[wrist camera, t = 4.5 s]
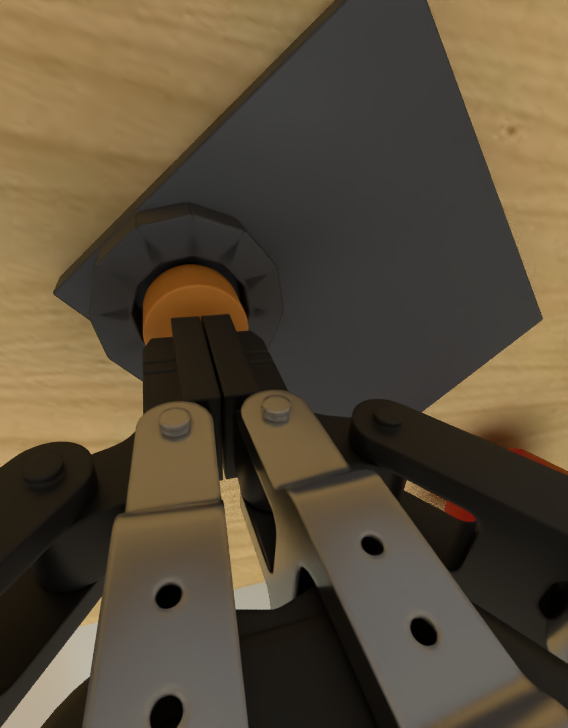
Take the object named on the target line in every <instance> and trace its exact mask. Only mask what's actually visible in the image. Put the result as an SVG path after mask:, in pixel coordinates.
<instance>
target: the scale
mask: <svg viewBox="0 0 568 728" xmlns="http://www.w3.org/2000/svg"><path fill="white" fill-rule="evenodd" d="M187 264H195V265H202V266H206V267H209V268H212V269H214V270H216V271H217V272H219V273H220V274H222V275H223V276H224V277H225V278H226V279H227V280H228V281H229V282H230V283H231V285H232V286H233V288H234V290H235V292H236V294H237V297H238V299H239V301H240V303H241V305H242V307H243V309H244V311H245V314H246V317H247V320H248V330H251V331H252V332H254V333H255V334H256V335H258V336H259V337H260V338H262V339H263V341H264V343H265V345H266V347H267V349H268V352H269V353H270V355H271V357H272V359H273V362H274V363H275V365H276V367H277V369H278V371H279V373H280V375H281V377H282V379H283V381H284V383H285V385H286V387H287V389H288V391H289V392H291V393H294V394H296V395H298V396H300V397H301V398H303V399H304V400H305V401H306V402H307V404H308V405H309V406H310V408H311V409H312V411H313V412H314V413H318V414H322V415H329V416H340V417H352V412H353V410H354V408H355V407H356V406H357V405H358V404H359V403H361V402H363V401H366V400H370V399H386V400H391V401H395V402H397V403H400V404H402V405H405V406H407V407H409V408H412V409H414V410H417V411H419V412H423V411H424V410H425V409H426V408H428V407H429V406H430V405H432V404H433V403H434V402H436V401H437V400H438V399H440V398H441V397H442V396H443V395H445V394H446V393H447V392H449V391H450V390H451V389H453V388H454V387H455V386H456V385H458V384H459V383H460V382H462V381H463V380H464V379H466V378H467V377H468V376H470V375H471V374H472V373H473V372H475V371H476V370H477V369H479V368H480V367H481V366H483V365H484V364H485V363H487V362H488V361H489V360H490V359H492V358H493V357H494V356H496V355H497V354H498V353H500V352H501V351H502V350H504V349H505V348H506V347H507V346H509V345H510V344H511V343H513V342H514V341H515V340H517V339H518V338H519V337H520V336H522V335H523V334H524V333H526V332H527V331H528V330H530V329H531V328H532V327H534V326H535V325H536V324H537V323H539V322H540V321H541V320H542V319H543V318H542V315H541V312H540V309H539V307H538V304H537V301H536V298H535V296H534V293H533V290H532V287H531V285H530V282H529V279H528V277H527V274H526V271H525V268H524V266H523V263H522V260H521V257H520V255H519V252H518V249H517V246H516V244H515V241H514V238H513V235H512V233H511V230H510V227H509V224H508V222H507V219H506V216H505V214H504V211H503V208H502V205H501V203H500V200H499V197H498V194H497V192H496V189H495V186H494V183H493V181H492V178H491V175H490V172H489V170H488V167H487V164H486V162H485V159H484V156H483V153H482V151H481V148H480V145H479V142H478V140H477V137H476V134H475V131H474V129H473V126H472V123H471V120H470V118H469V115H468V112H467V109H466V107H465V104H464V101H463V99H462V96H461V93H460V90H459V88H458V85H457V82H456V79H455V77H454V74H453V71H452V68H451V66H450V63H449V60H448V57H447V55H446V52H445V49H444V46H443V44H442V41H441V38H440V36H439V33H438V30H437V27H436V25H435V22H434V19H433V16H432V14H431V11H430V8H429V5H428V3H427V0H335V1H334V2H333V3H332V4H331V5H330V6H329V7H328V8H327V9H326V10H325V11H324V12H323V13H322V14H321V15H320V16H319V17H318V18H317V19H316V20H315V21H314V22H313V23H312V24H311V25H310V26H309V27H308V28H307V29H306V30H305V31H304V32H303V33H302V34H301V35H300V36H299V37H298V38H297V39H296V40H295V41H294V42H293V43H292V44H291V45H290V46H289V47H288V48H287V49H286V50H285V51H284V52H283V53H282V54H281V55H280V56H279V57H278V58H277V59H276V60H275V61H274V62H273V63H272V64H271V65H270V66H269V67H268V68H267V69H266V70H265V71H264V72H263V73H262V75H261V76H260V77H259V78H258V79H257V80H256V81H255V82H254V83H253V84H252V85H251V86H250V87H249V88H248V89H247V90H246V91H245V92H244V93H243V94H242V95H241V96H240V97H239V98H238V99H237V100H236V101H235V102H234V103H233V104H232V105H231V106H230V107H229V108H228V109H227V110H226V111H225V112H224V113H223V114H222V115H221V116H220V117H219V118H218V119H217V120H216V121H215V122H214V123H213V124H212V125H211V126H210V127H209V128H208V129H207V130H206V131H205V132H204V133H203V134H202V135H201V136H200V137H199V138H198V139H197V140H196V141H195V142H194V143H193V144H192V145H191V146H190V147H189V148H188V149H187V150H186V151H185V152H184V153H183V154H182V155H181V156H180V157H179V158H178V159H177V160H176V161H175V162H174V163H173V164H172V165H171V166H170V167H169V168H168V169H167V170H166V171H165V172H164V173H163V174H162V175H161V176H160V177H159V178H158V179H157V180H156V181H155V182H154V183H153V184H152V185H151V186H150V187H149V188H148V189H147V190H146V191H145V192H144V193H143V194H142V195H141V196H140V197H139V198H138V199H137V200H136V201H135V202H134V203H133V204H132V205H131V206H130V207H129V208H128V209H127V210H126V211H125V212H124V213H123V214H122V215H121V216H120V217H119V218H118V219H117V220H116V221H115V222H114V223H113V224H112V225H111V226H110V227H109V228H108V229H107V230H106V231H105V232H104V233H103V234H102V235H101V236H100V237H99V238H98V239H97V240H96V241H95V242H94V243H93V244H92V245H91V246H90V247H89V248H88V249H87V250H86V252H85V253H84V254H83V255H82V256H81V257H80V258H79V259H78V260H77V261H76V262H75V263H74V264H73V265H72V266H71V267H70V268H69V269H68V270H67V271H66V272H65V273H64V274H63V275H62V276H61V277H60V278H59V280H58V282H57V285H56V287H55V289H54V291H53V294H54V295H55V296H56V297H58V298H59V299H61V300H62V301H63V302H65V303H66V304H68V305H69V306H70V307H72V308H73V309H75V310H76V311H77V312H79V313H80V314H82V315H83V316H84V317H86V318H87V319H89V320H90V321H91V323H92V325H93V328H94V330H95V332H96V334H97V336H98V338H99V340H100V342H101V344H102V346H103V348H104V351H105V353H106V355H107V357H108V358H109V359H110V360H111V361H113V362H114V363H116V364H117V365H119V366H120V367H122V368H123V369H125V370H126V371H128V372H129V373H131V374H132V375H134V376H135V377H137V378H138V379H140V380H141V381H143V349H144V347H145V342H144V338H143V301H144V297H145V293H146V291H147V289H148V287H149V286H150V284H151V283H152V282H153V281H154V280H155V278H156V277H158V276H159V275H160V274H161V273H163V272H165V271H166V270H168V269H171V268H173V267H176V266H180V265H187Z"/></svg>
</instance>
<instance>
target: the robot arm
mask: <svg viewBox="0 0 568 728" xmlns="http://www.w3.org/2000/svg"><path fill="white" fill-rule="evenodd" d="M171 328H172V337H163V338H151V339H150V341H149V342H148V343H147V345H146V346H145V347H144V349H143V415H142V417H141V418H140V419H139V421H138V423H137V426H136V431H135V432H134V433H133V434H132V435H131V436H130V437H129V438H127V439H126V440H124V441H123V442H121V443H119V444H117V445H115V446H113V447H110V448H108V449H105V450H102V451H100V452H97V453H94V454H92V455H91V454H90V452H89V451H88V450H87V449H86V448H85V447H83V446H81V445H79V444H76V443H72V442H51V443H46V444H42V445H39V446H36V447H33V448H31V449H28V450H26V451H24V452H22V453H20V454H19V455H17V456H16V457H14V458H13V459H11V460H10V461H9V462H7V463H6V464H5V465H3V466H2V467H1V468H0V727H1V726H2V725H3V724H4V722H5V721H6V720H7V719H8V717H9V716H10V715H11V713H12V712H13V711H14V710H15V708H16V707H17V706H18V704H19V703H20V702H21V700H22V699H23V698H24V697H25V695H26V694H27V693H28V691H29V690H30V689H31V687H32V686H33V685H34V684H35V682H36V681H37V680H38V678H39V677H40V676H41V675H42V673H43V672H44V671H45V669H46V668H47V667H48V665H49V664H50V663H51V661H52V660H53V659H54V658H55V656H56V655H57V654H58V652H59V651H60V650H61V649H62V647H63V646H64V645H65V643H66V642H67V640H68V639H69V638H70V637H71V636H72V634H73V633H74V632H75V630H76V629H77V628H78V627H79V625H80V624H81V623H82V621H83V620H84V619H85V617H86V616H87V615H88V614H89V612H90V611H91V610H92V608H93V607H94V606H95V605H96V603H97V602H98V601H99V599H100V598H101V597H102V601H101V607H100V614H99V620H98V627H97V633H96V640H95V647H94V653H93V660H92V666H91V673H90V677H89V678H88V679H86V680H85V681H84V682H83V683H82V684H81V685H79V686H78V687H77V688H76V689H75V690H74V691H73V692H72V693H71V694H70V695H69V696H68V697H67V698H66V699H65V700H64V701H63V702H62V703H61V704H60V705H59V706H58V707H57V708H56V709H55V710H54V712H53V713H52V714H51V716H50V717H49V718H48V719H47V720H46V722H45V723H44V724H43V725H42V726H41V728H568V475H566V474H564V473H561V472H559V471H557V470H554V469H552V468H550V467H547V466H545V465H543V464H540V463H538V462H536V461H533V460H531V459H529V458H526V457H524V456H522V455H519V454H517V453H515V452H512V451H510V450H508V449H505V448H503V447H501V446H498V445H496V444H494V443H491V442H489V441H487V440H484V439H482V438H480V437H477V436H475V435H473V434H470V433H468V432H466V431H463V430H461V429H459V428H456V427H454V426H452V425H449V424H447V423H445V422H442V421H440V420H438V419H435V418H433V417H431V416H428V415H426V414H424V413H421V412H419V411H417V410H414V409H412V408H409V407H407V406H405V405H402V404H400V403H397V402H395V401H391V400H386V399H370V400H366V401H363V402H361V403H359V404H358V405H357V406H356V407H355V408H354V410H353V412H352V417H340V416H329V415H322V414H318V413H314V412H313V411H312V409H311V408H310V406H309V405H308V404H307V402H306V401H305V400H304V399H303V398H301V397H300V396H298V395H296V394H294V393H291V392H289V391H288V389H287V387H286V385H285V383H284V381H283V379H282V377H281V375H280V373H279V371H278V369H277V367H276V365H275V363H274V362H273V359H272V357H271V355H270V353H269V352H268V349H267V347H266V345H265V343H264V341H263V339H262V338H260V337H259V336H258V335H256V334H255V333H254V332H252V331H251V330H248V331H236V329H235V326H234V324H233V321H232V319H231V316H230V314H219V315H204V316H201V320H200V317H199V316H191V317H176V318H171ZM222 464H223V466H222ZM223 469H224V473H225V478H226V479H231V478H236V477H238V481H239V485H240V506H241V510H242V513H243V516H244V519H245V522H246V525H247V528H248V531H249V534H250V537H251V540H252V543H253V546H254V549H255V552H256V554H257V557H258V560H259V563H260V566H261V569H262V572H263V575H264V578H265V581H266V584H267V588H268V593H269V598H270V606H271V610H236V609H235V600H234V591H233V582H232V573H231V564H230V554H229V545H228V536H227V527H226V518H225V509H224V503H223V500H221V491H220V482H219V481H220V480H223ZM407 480H408V481H410V482H412V483H414V484H416V485H418V486H420V487H422V488H424V489H426V490H428V491H430V492H432V493H434V494H435V495H437V496H439V497H441V498H443V499H445V500H447V501H449V502H451V503H453V504H455V505H457V506H459V507H461V508H463V509H464V510H466V511H468V512H469V513H470V514H472V515H473V516H474V517H475V519H476V520H475V521H472V522H466V521H462V520H459V519H457V518H455V517H453V516H451V515H449V514H448V513H446V512H444V511H442V510H440V509H438V508H436V507H434V506H432V505H431V504H429V503H427V502H425V501H423V500H421V499H419V498H417V497H415V496H414V495H412V494H410V493H408V492H406V491H404V487H405V484H406V481H407Z"/></svg>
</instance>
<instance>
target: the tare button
mask: <svg viewBox="0 0 568 728" xmlns="http://www.w3.org/2000/svg"><path fill="white" fill-rule="evenodd" d="M219 314H230V316H231V319H232V321H233V324H234V326H235V329H236V331H248V320H247V317H246V314H245V311H244V309H243V307H242V305H241V303H240V301H239V299H238V297H237V294H236V292H235V290H234V288H233V286H232V285H231V283H230V282H229V281H228V280H227V279H226V278H225V277H224V276H223V275H222V274H220V273H219V272H217V271H216V270H214V269H212V268H209V267H206V266H202V265H195V264H187V265H180V266H176V267H173V268H171V269H168V270H166V271H165V272H163V273H161V274H160V275H159V276H158V277H156V278H155V280H154V281H153V282H152V283H151V284H150V286H149V287H148V289H147V291H146V293H145V297H144V301H143V338H144V342H145V346H146V345H147V343H148V342H149V341H150V339H151V338H163V337H172V328H171V318H176V317H191V316H199V317H200V320H201V316H204V315H219Z"/></svg>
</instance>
